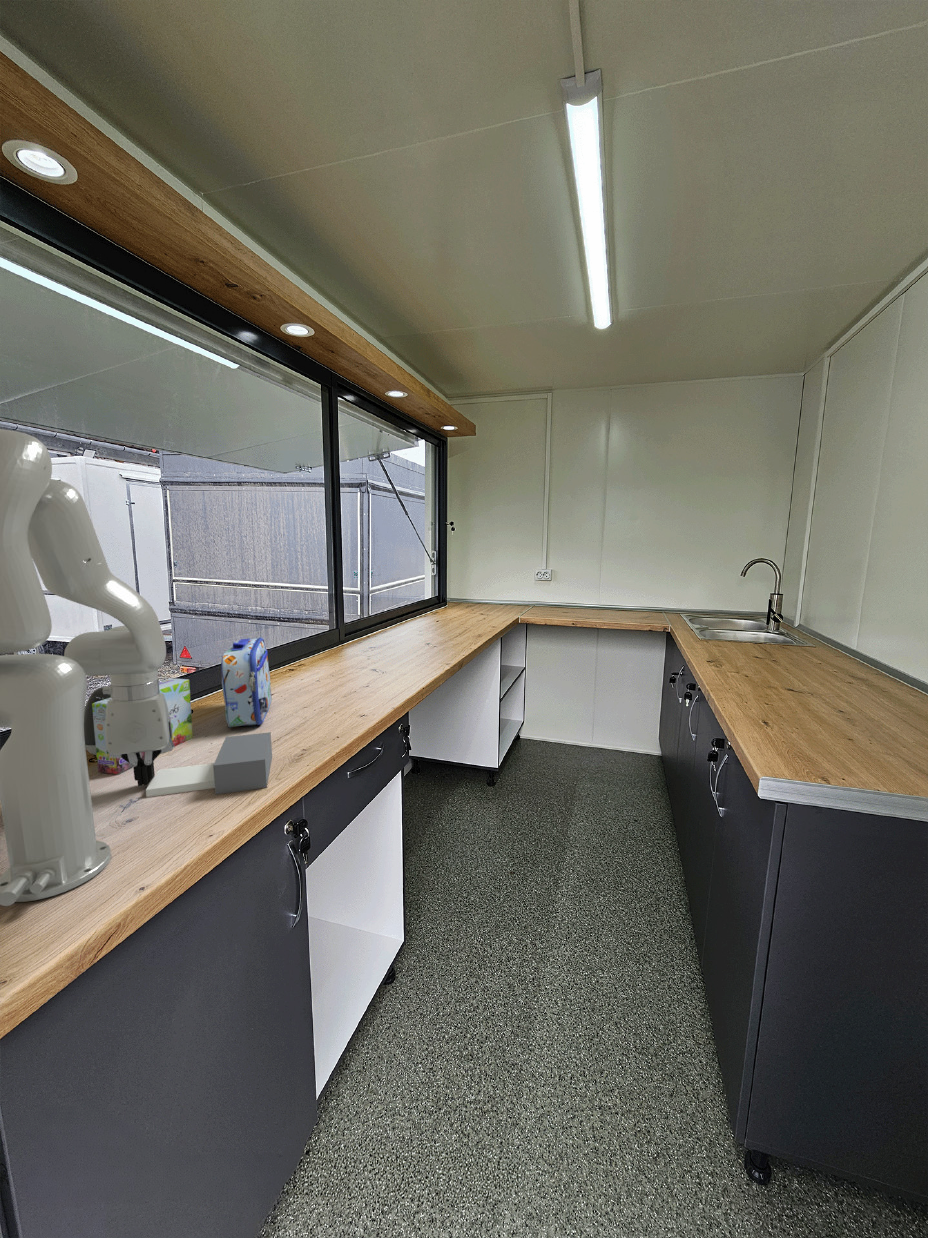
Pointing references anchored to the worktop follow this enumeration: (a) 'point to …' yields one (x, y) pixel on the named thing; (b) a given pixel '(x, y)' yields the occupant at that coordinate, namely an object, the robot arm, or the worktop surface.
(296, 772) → the worktop surface
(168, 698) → the snack box
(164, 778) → the cutting board
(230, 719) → the lunch box
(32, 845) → the robot arm
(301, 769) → the worktop surface
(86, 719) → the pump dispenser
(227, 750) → the gray block
